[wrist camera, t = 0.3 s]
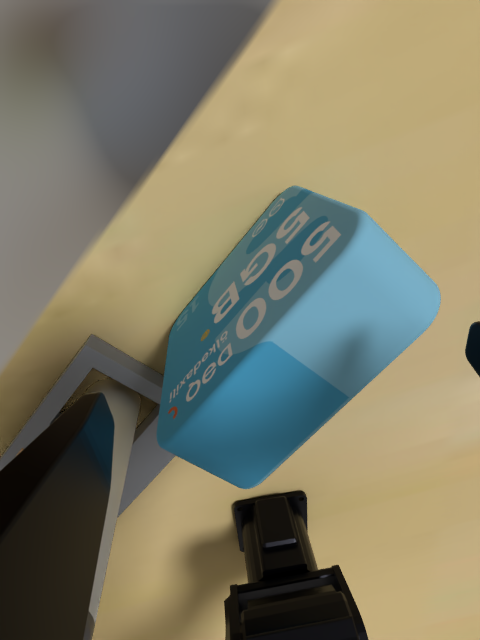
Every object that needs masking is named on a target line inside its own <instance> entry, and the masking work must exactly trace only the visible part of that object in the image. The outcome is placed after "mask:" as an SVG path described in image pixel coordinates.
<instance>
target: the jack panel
mask: <svg viewBox="0 0 480 640" xmlns="http://www.w3.org/2000/svg"><path fill="white" fill-rule="evenodd" d="M92 368H94V369H96V370H98V371H100V372H102V373H103V374H105V375H107V376H109V377H111V378H112V379H114V380H116V381H118V382H120V383H122V384H123V385H125V386H127V387H129V388H131V389H132V390H134V391H136V392H138V393H140V394H142V395H143V396H145V397H147V398H149V399H151V400H152V401H154V402H156V403H158V405H157V406H156V407H155V408H154V409H153V411H152V412H151V413H150V414H149V415H148V416H147V418H146V419H145V420H144V421H143V422H142V423H141V425H140V426H139V427H138V428H137V429H136V430H135V434H134V439H133V443H132V448H131V453H130V458H129V463H128V468H127V472H126V477H125V482H124V487H123V492H122V496H121V501H120V506H119V511H118V516H117V518H118V517H119V515H120V514H121V513H122V512H123V511H124V510H125V509H126V508H127V507H128V506H129V505H130V504H131V503H132V502H133V500H134V499H135V498H136V497H137V496H138V495H139V494H140V493H141V492H142V491H143V490H144V489H145V488H146V487H147V486H148V484H149V483H150V482H151V481H152V480H153V479H154V478H155V477H156V476H157V475H158V474H159V473H160V472H161V471H162V469H163V468H164V467H165V466H166V465H167V464H168V463H169V462H170V461H171V460H172V459H173V458H174V457H175V456H176V455H174V454H172V453H170V452H168V451H166V450H164V449H162V448H161V447H160V446H159V444H158V442H157V437H156V434H157V425H158V417H159V410H160V402H161V395H162V387H163V379H164V376H163V375H161V374H159V373H158V372H156V371H154V370H152V369H151V368H149V367H147V366H146V365H144V364H142V363H140V362H139V361H137V360H135V359H134V358H132V357H130V356H128V355H127V354H125V353H123V352H122V351H120V350H118V349H116V348H115V347H113V346H111V345H110V344H108V343H106V342H105V341H103V340H101V339H99V338H98V337H96V336H94V335H93V334H91V335H90V337H89V338H88V339H87V341H86V342H85V343H84V345H83V346H82V347H81V349H80V350H79V352H78V353H77V354H76V356H75V357H74V358H73V360H72V361H71V362H70V364H69V365H68V366H67V368H66V369H65V370H64V372H63V373H62V375H61V376H60V377H59V379H58V380H57V381H56V383H55V384H54V385H53V387H52V388H51V389H50V391H49V392H48V393H47V395H46V396H45V398H44V399H43V400H42V402H41V403H40V404H39V406H38V407H37V408H36V410H35V411H34V412H33V414H32V415H31V416H30V418H29V419H28V421H27V422H26V423H25V425H24V426H23V427H22V429H21V430H20V431H19V433H18V434H17V435H16V437H15V438H14V439H13V441H12V442H11V443H10V445H9V446H8V448H7V449H6V450H5V452H4V453H3V454H2V456H1V457H0V471H1V470H2V469H3V468H4V467H5V466H6V465H7V464H8V463H9V462H10V461H12V460H13V459H14V458H15V457H16V456H17V455H18V454H19V453H20V452H21V451H22V450H24V449H25V448H26V447H27V446H28V445H29V444H30V443H31V442H32V441H33V440H34V439H35V438H37V437H38V436H39V435H40V434H41V433H42V432H43V431H44V430H45V429H46V428H47V427H49V426H50V425H51V424H52V423H53V422H54V421H55V420H56V419H57V418H58V417H59V416H61V415H62V414H63V413H61V412H59V411H60V410H61V408H62V407H63V406H64V404H65V403H66V402H67V401H68V399H69V398H70V397H71V395H72V394H73V393H74V391H75V390H76V389H77V387H78V386H79V385H80V384H81V382H82V381H83V380H84V378H85V377H86V376H87V374H88V373H89V372H90V370H91V369H92Z"/></svg>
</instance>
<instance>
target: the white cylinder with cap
mask: <svg viewBox="0 0 480 640" xmlns="http://www.w3.org/2000/svg"><path fill="white" fill-rule="evenodd" d="M94 392H102V393H103V394H104V396H105V398H106V400H107V403H108V406H109V408H110V411H111V413H112V416H113V419H114V426H115V429H114V445H113V461H112V477H111V489H110V495H109V501H108V507H107V512H106V518H105V523H104V529H103V534H102V540H101V545H100V551H99V556H98V562H97V567H96V573H95V578H94V584H93V589H92V595H91V600H90V606H89V611H88V617H87V622H86V628H85V633H84V639H83V640H92V636H93V632H94V627H95V622H96V617H97V612H98V607H99V603H100V598H101V593H102V588H103V583H104V578H105V574H106V569H107V564H108V559H109V554H110V550H111V545H112V540H113V535H114V530H115V525H116V521H117V516H118V511H119V506H120V501H121V496H122V492H123V487H124V482H125V477H126V472H127V468H128V463H129V458H130V453H131V448H132V443H133V439H134V434H135V429H136V424H137V419H138V414H139V410H140V404H141V401H140V396H139V394H138V392H136V391H134V390H132V389H131V388H129V387H127V386H125V385H123V384H122V383H120V382H118V381H116V380H114V379H104V380H100V381H98V382H95V383H94V384H92V385H91V386H90V387H89V388H88V389H87V390H86V392H85V394H89V393H94Z"/></svg>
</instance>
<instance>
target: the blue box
mask: <svg viewBox="0 0 480 640" xmlns="http://www.w3.org/2000/svg"><path fill="white" fill-rule="evenodd" d="M440 300H441V297H440V291H439V288H438V286H437V285H436V283H435V282H434V281H433V280H432V279H431V278H430V277H429V276H428V275H427V274H426V273H425V272H424V271H423V270H422V269H421V268H420V267H419V266H418V265H417V264H416V263H415V262H414V261H413V260H412V259H411V258H410V257H409V256H408V255H407V254H406V253H405V252H404V251H403V250H402V249H401V248H400V247H399V246H398V245H397V244H396V243H395V242H394V241H393V240H392V239H391V237H390V236H389V235H388V234H387V233H386V232H385V231H384V230H383V229H382V228H381V227H380V226H379V225H378V224H377V223H376V222H375V221H374V220H373V219H372V218H371V217H370V216H369V215H368V214H367V213H366V212H364V211H362V210H360V209H357V208H355V207H352V206H349V205H347V204H344V203H341V202H339V201H336V200H333V199H331V198H328V197H325V196H323V195H320V194H317V193H315V192H312V191H309V190H307V189H304V188H302V187H299V186H292V187H289V188H288V189H286V190H285V191H284V192H282V193H281V194H280V195H279V196H278V197H277V198H276V199H275V200H274V201H273V202H272V204H271V205H270V206H269V207H268V208H267V210H266V211H265V212H264V213H263V214H262V216H261V217H260V218H259V219H258V220H257V222H256V223H255V224H254V225H253V227H252V228H251V229H250V230H249V231H248V233H247V234H246V235H245V236H244V237H243V239H242V240H241V241H240V242H239V244H238V245H237V246H236V247H235V248H234V250H233V251H232V252H231V253H230V254H229V256H228V257H227V258H226V259H225V261H224V262H223V263H222V264H221V265H220V267H219V268H218V269H217V270H216V271H215V273H214V274H213V275H212V276H211V278H210V279H209V280H208V281H207V282H206V284H205V285H204V286H203V287H202V288H201V290H200V291H199V292H198V293H197V295H196V296H195V297H194V298H193V299H192V301H191V302H190V303H189V304H188V305H187V307H186V308H185V309H184V310H183V312H182V313H181V314H180V316H179V317H178V319H177V320H176V322H175V324H174V325H173V327H172V329H171V332H170V335H169V341H168V349H167V357H166V364H165V372H164V379H163V387H162V395H161V402H160V410H159V417H158V425H157V434H156V437H157V442H158V444H159V446H160V447H161V448H162V449H164V450H166V451H168V452H170V453H172V454H174V455H176V456H178V457H180V458H182V459H184V460H186V461H188V462H190V463H192V464H194V465H196V466H198V467H200V468H202V469H204V470H206V471H207V472H209V473H211V474H213V475H215V476H217V477H219V478H221V479H223V480H225V481H227V482H229V483H231V484H233V485H235V486H237V487H239V488H242V489H250V488H253V487H255V486H257V485H259V484H260V483H261V482H263V481H264V480H265V479H266V478H267V477H268V476H269V475H270V474H271V473H272V472H274V471H275V470H276V469H277V468H278V467H279V466H280V465H281V464H282V463H283V462H284V461H285V460H286V459H288V458H289V457H290V456H291V455H292V454H293V453H294V452H295V451H296V450H297V449H298V448H299V447H301V446H302V445H303V444H304V443H305V442H306V441H307V440H308V439H309V438H310V437H311V436H312V435H313V434H315V433H316V432H317V431H318V430H319V429H320V428H321V427H322V426H323V425H324V424H325V423H326V422H327V421H329V420H330V419H331V418H332V417H333V416H334V415H335V414H336V413H337V412H338V411H339V410H340V409H341V408H343V407H344V406H345V405H346V404H347V403H348V402H349V401H350V400H351V399H352V398H353V397H354V396H355V395H357V394H358V393H359V392H360V391H361V390H362V389H363V388H364V387H365V386H366V385H367V384H368V383H369V382H371V381H372V380H373V379H374V378H375V377H376V376H377V375H378V374H379V373H380V372H381V371H382V370H383V369H385V368H386V367H387V366H388V365H389V364H390V363H391V362H392V361H393V360H394V359H395V358H396V357H398V356H399V355H400V354H401V353H402V352H403V351H404V350H405V349H406V348H407V347H408V346H409V345H410V344H412V343H413V342H414V341H415V340H416V339H417V338H418V337H419V336H420V335H421V334H422V333H423V332H424V331H425V330H426V329H427V328H428V327H429V326H430V325H431V323H432V322H433V320H434V319H435V317H436V315H437V313H438V310H439V307H440Z"/></svg>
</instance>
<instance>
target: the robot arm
mask: <svg viewBox="0 0 480 640" xmlns="http://www.w3.org/2000/svg"><path fill="white" fill-rule="evenodd" d="M465 354H466V357H467V360H468V361H469V363H470V364H471V366H472V367H473V368H474V370H475V371H476V373H477V374H478V375H479V377H480V321H478V322H474V323H473V324H472V325H471V326H470V329H469V334H468V339H467V344H466V349H465ZM114 429H115V426H114V419H113V416H112V413H111V411H110V408H109V406H108V403H107V400H106V398H105V396H104V394H103V393H102V392H94V393H89V394H84V395H83V396H81V397H80V398H79V399H78V400H77V401H76V402H75V403H74V404H73V405H71V406H70V407H69V408H68V409H67V410H66V411H65V412H64V413H63V414H62V415H61V416H59V417H58V418H57V419H56V420H55V421H54V422H53V423H52V424H51V425H50V426H49V427H47V428H46V429H45V430H44V431H43V432H42V433H41V434H40V435H39V436H38V437H37V438H35V439H34V440H33V441H32V442H31V443H30V444H29V445H28V446H27V447H26V448H25V449H24V450H22V451H21V452H20V453H19V454H18V455H17V456H16V457H15V458H14V459H13V460H12V461H10V462H9V463H8V464H7V465H6V466H5V467H4V468H3V469H2V470H1V471H0V640H83V639H84V633H85V628H86V622H87V617H88V611H89V606H90V600H91V595H92V589H93V584H94V578H95V573H96V567H97V562H98V556H99V551H100V545H101V540H102V534H103V529H104V523H105V518H106V512H107V507H108V501H109V495H110V489H111V477H112V461H113V445H114ZM234 512H235V519H236V526H237V532H238V539H239V546H240V551H242V552H244V553H245V561H246V569H247V577H248V583H247V584H242V585H237V584H235V585H230V594H231V595H230V596H229V597H228V598H227V599H226V600H225V601H224V605H225V620H226V637H225V640H368V637H367V633H366V630H365V626H364V623H363V620H362V618H361V615H360V612H359V610H358V608H357V605H356V603H355V601H354V599H353V596H352V594H351V592H350V590H349V587H348V585H347V583H346V581H345V578H344V576H343V574H342V572H341V569H340V567H339V565H334V566H332V567H331V568H326V569H320V570H318V568H317V564H316V561H315V557H314V554H313V551H312V547H311V544H310V540H309V537H308V534H307V497H306V494H305V492H302V491H300V492H294V493H287V494H281V495H275V496H269V497H263V498H257V499H251V500H244V501H239V502H236V503H235V504H234Z"/></svg>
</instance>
